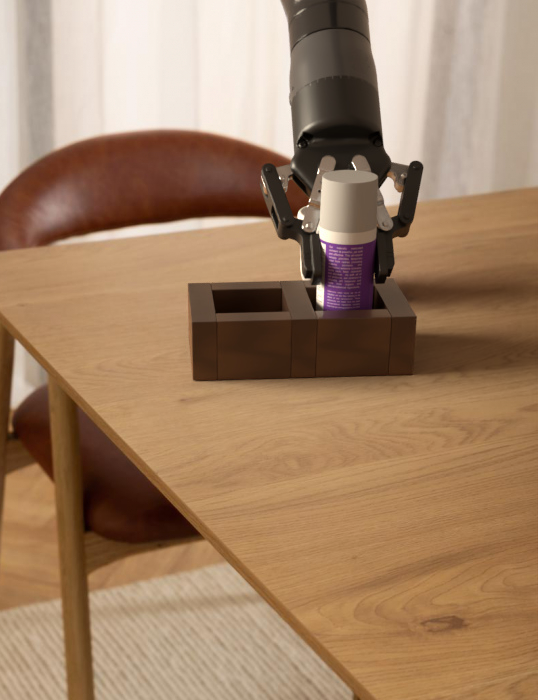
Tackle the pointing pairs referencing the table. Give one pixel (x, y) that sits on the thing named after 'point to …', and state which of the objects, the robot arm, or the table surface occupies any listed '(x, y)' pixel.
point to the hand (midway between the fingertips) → (349, 279)
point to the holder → (295, 332)
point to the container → (347, 240)
